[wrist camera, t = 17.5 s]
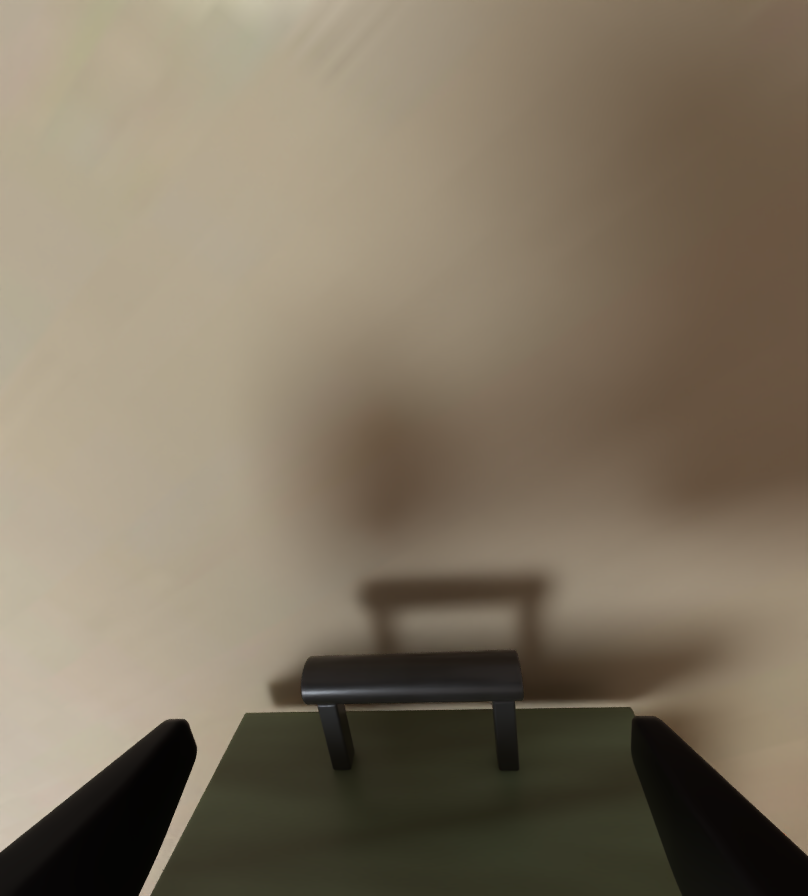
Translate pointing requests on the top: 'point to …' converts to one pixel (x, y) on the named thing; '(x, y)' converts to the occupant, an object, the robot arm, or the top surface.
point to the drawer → (423, 792)
